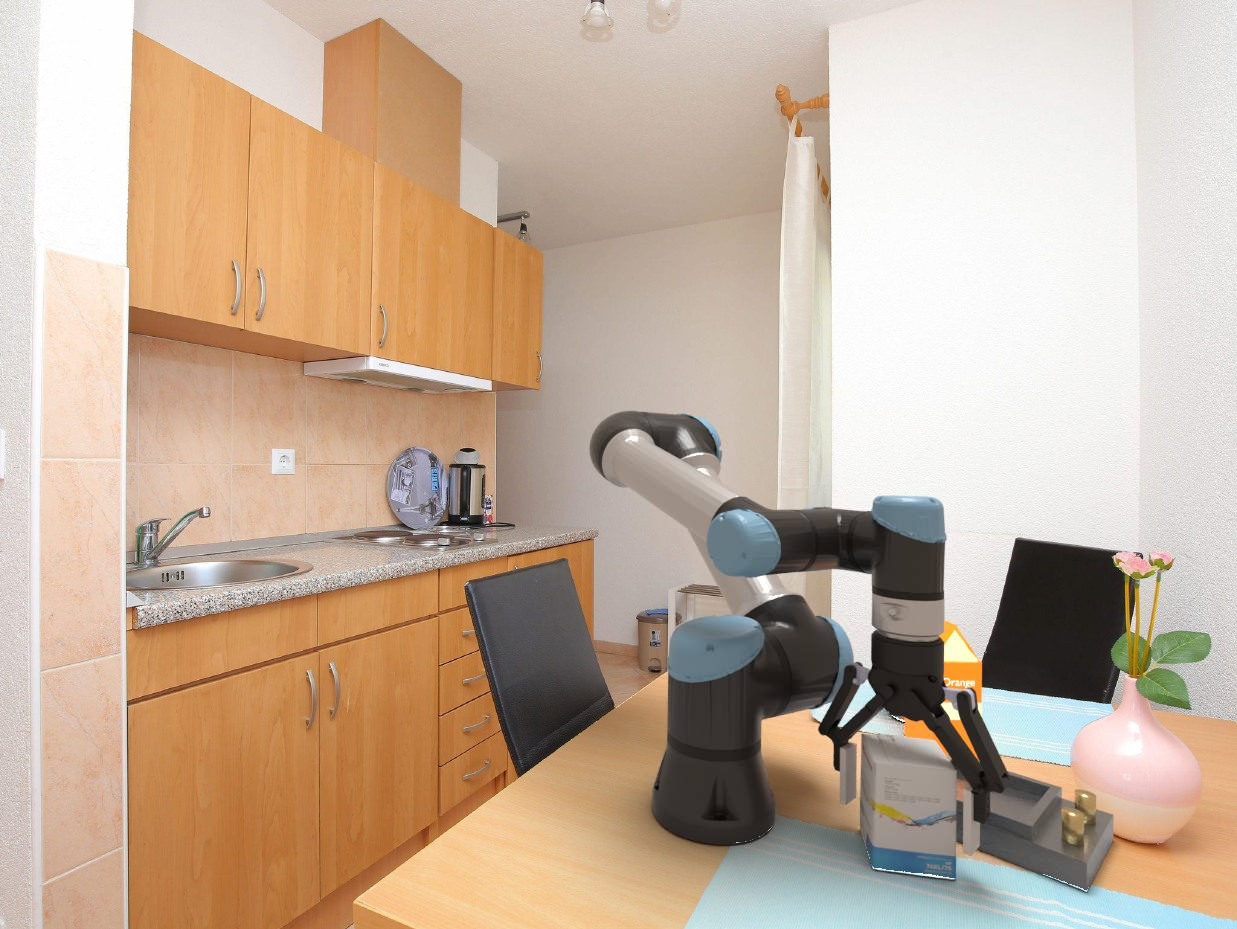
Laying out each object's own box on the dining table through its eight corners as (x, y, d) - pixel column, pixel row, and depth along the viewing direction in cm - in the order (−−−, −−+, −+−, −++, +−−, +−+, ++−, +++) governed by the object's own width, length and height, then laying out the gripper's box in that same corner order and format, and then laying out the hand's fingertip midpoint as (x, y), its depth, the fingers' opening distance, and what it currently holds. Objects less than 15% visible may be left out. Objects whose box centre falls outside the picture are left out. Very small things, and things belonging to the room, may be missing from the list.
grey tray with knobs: (891, 815, 80) (892, 766, 80) (934, 779, 90) (935, 736, 90) (1086, 892, 66) (1087, 833, 66) (1113, 840, 76) (1113, 788, 76)
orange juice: (950, 736, 105) (951, 613, 106) (982, 760, 97) (983, 626, 97) (902, 736, 105) (904, 613, 105) (930, 760, 96) (932, 625, 97)
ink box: (957, 882, 67) (959, 770, 67) (871, 871, 69) (872, 761, 69) (934, 837, 76) (935, 737, 76) (858, 828, 77) (859, 730, 77)
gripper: (791, 618, 79) (789, 793, 79) (1024, 664, 61) (1023, 890, 61) (822, 610, 84) (820, 774, 84) (1045, 650, 66) (1044, 859, 66)
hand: (905, 823), depth 72 cm, fingers open, 13 cm apart
